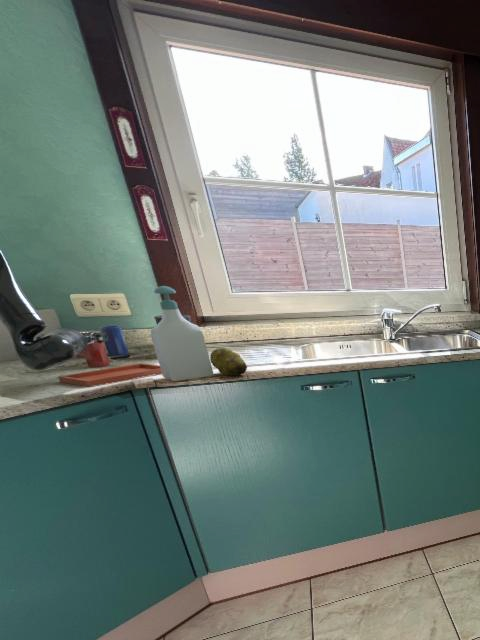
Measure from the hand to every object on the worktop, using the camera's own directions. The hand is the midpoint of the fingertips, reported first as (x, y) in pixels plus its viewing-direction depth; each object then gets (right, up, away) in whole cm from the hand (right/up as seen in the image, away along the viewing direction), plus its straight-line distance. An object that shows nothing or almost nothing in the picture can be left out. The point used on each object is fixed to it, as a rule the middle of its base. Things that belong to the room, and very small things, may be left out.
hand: (79, 335), depth 152 cm
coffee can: (+3, +1, +34) cm, 35 cm away
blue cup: (-12, -2, +25) cm, 28 cm away
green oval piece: (+41, -11, +9) cm, 43 cm away
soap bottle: (+31, -12, +4) cm, 34 cm away
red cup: (-7, -7, +13) cm, 16 cm away
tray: (+12, -13, 0) cm, 18 cm away
